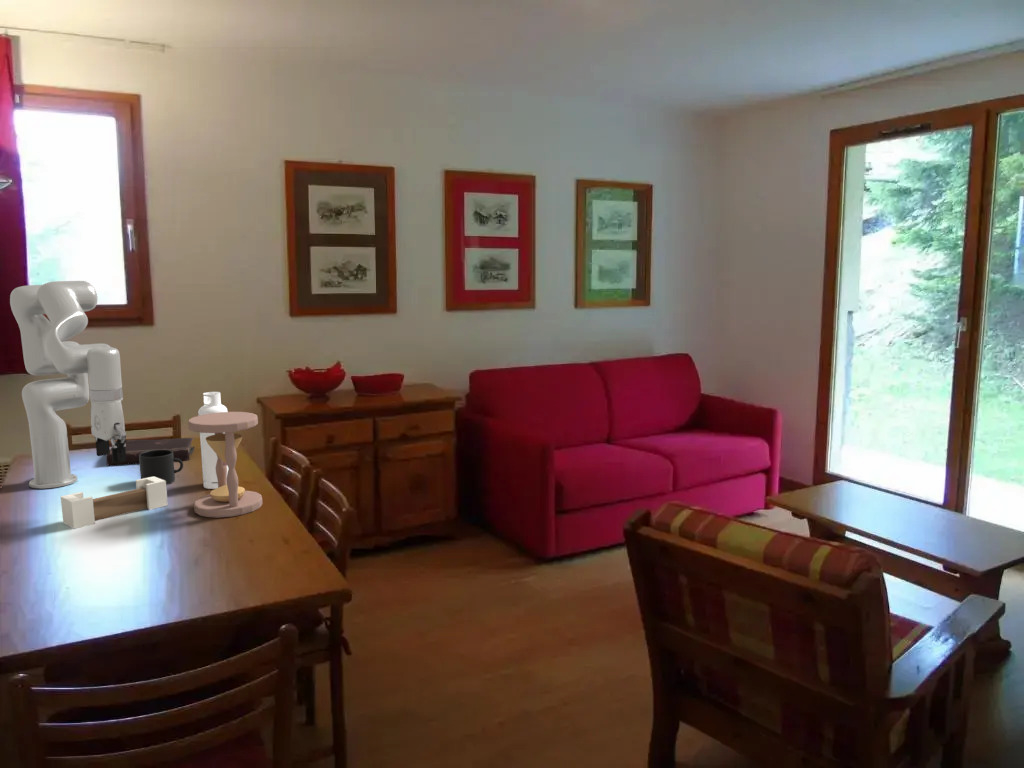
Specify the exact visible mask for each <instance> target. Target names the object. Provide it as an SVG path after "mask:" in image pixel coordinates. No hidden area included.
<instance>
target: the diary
mask: <svg viewBox="0 0 1024 768" xmlns="http://www.w3.org/2000/svg"><path fill="white" fill-rule="evenodd" d="M194 439H195V438H194V437H181V438H179V437H178V438H166V439H163V438H162V439H129V440H127V439H126V442H125V444H126V447H125V450H126V461H125V462H119V463H113V459H112V448H113V446H112V447H110V454H108V455H106V465H107V467H115V466H129V465H140V463H139V454H141V453H143V452H147V451H153V450H171V451H173V458H178V459H180V460H181V461H182V462H187V461H190V456H191V455H193V453H194V451H195V446H192V442H193V440H194Z"/></svg>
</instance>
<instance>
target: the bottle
mask: <svg viewBox="0 0 1024 768" xmlns="http://www.w3.org/2000/svg"><path fill="white" fill-rule="evenodd" d="M202 395H203V396H202V397H203V405H202V406H200V408H199V409H198V411H197V412H198V416H199V415H204V414H210V413H219V412H228V408H227V406H225V405H224V404H222V400H221V399H222V398H221V397H222V396H221V392H220V391H208V392H203V393H202ZM211 435H215V433H200V432H199V440H200V455H201V468H202V469H201V470H202V479H203V481H202V485H203V488H204V489H208V490H210V489H212V490H215V489H217V488H218V479H217V475H216V463H217V459H218V457H217V455H216V453H215V452H214V451H213V449H212V448H211V447H210V446H209V444H208V443H207V441H206V437H208V436H211ZM228 469H229V468H228V465H227V474H228ZM226 478H227V477H226ZM226 482H227V480H226Z"/></svg>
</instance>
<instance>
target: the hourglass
mask: <svg viewBox="0 0 1024 768" xmlns="http://www.w3.org/2000/svg"><path fill="white" fill-rule="evenodd" d="M258 423H259V417H258V415H257V414H255V413H253V412H247V411H227V412H219V413H210V414H204V415H199V414H198V415H195V416H193V417H191V418H189V419H188V423H187V424H188V425H187V426H188V430H190V431H192V432H194V433H199V434H200V433H215V435H211V436H208V437H206V441H207V443H208V444H209V446H210V447H211V448H212V449H213V451H214V452H215V453H216V455H217V457H218V459H217V463H216V475H217V479H218V482H217V483H218V488H217V489H212V490H211V491H210V492H209V493H210V494H206V495H204V496H201V497H199V498H198V499H196V500H195V501H194V503H193V505H194V506H193V507H194V513H195V514H197V515H198V516H201V517H206V518H217V519H218V518H233V517H237V516H243V515H246V514H250V513H253V512H254V511H256V510H258V509H259V510H260V508H261V507H262V506H263V496H262V494H261V493H259V492H257V491H253V490H246V489H245V488H244V487H243V486H239V477H238V474H237V471H236V463H237V459H238V456H237V454H238V453H237V449H238V447H239V445H240V444H241V442H242V439H243V434H241V433H235V432H238V431H243V430H248V429H251V428H254V427H256V426H258ZM227 465H228V468H229V469H228V474H227ZM226 477H227V478H226ZM226 480H227V482H226Z"/></svg>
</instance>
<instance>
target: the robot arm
mask: <svg viewBox="0 0 1024 768" xmlns="http://www.w3.org/2000/svg"><path fill="white" fill-rule="evenodd" d="M9 297H10V298H9V305H10V308H11V309H10V310H11V312H12V314H13V316H14V318H15V320H16V322H17V324H18V328H19V331H20V339H21V347H22V355H23V362H24V366H25V370H26V372H27V373H28V374H29V375H32V376H49V375H59V374H60V375H61V374H62V375H65V376H66V375H67V377H60V378H49V379H39V380H35V381H32V382H31V381H30V382H29V383H27V384H25V385H24V387H22V390H21V397H22V398H21V399H22V402H23V406H24V409H25V411H26V416H27V421H28V430H29V436H30V446H31V447H30V448H31V457H32V466H33V474H34V475H33V477H34V478H33V479H31V480H30V481H29V482H28V486H29V488H31V489H41V490H42V489H53V488H54V489H55V488H60V487H65V486H69V485H72V484H74V483H76V482H77V481H78V476H77V474H73V473H72V471H71V461H70V460H71V458H70V450H69V440H68V439H69V438H68V430H67V424H66V422H65V420H64V419H63V418H61V417H60V416H59V415H58V414H57V413H56V412H58V411H61V410H69V409H76V408H81V407H84V406H86V405H87V404H88V403H89V401H90V404H91V405H90V430H91V435H92V436H94V441H95V448H96V456H98V457H101V456H107V455H108V454H110V449H111V448H112V447H111V446H110V443H111V445H112V446H113V448H112V459H113V463H119V462H125V461H126V450H125V447H126V444H125V442H126V440H127V439H126V438H127V433H126V426H125V418H124V411H123V404H122V401H123V400H124V393H123V380H122V369H121V368H122V367H121V366H122V365H121V355H120V350H118V348H116V347H112V346H111V345H109V344H107V343H102V342H101V343H90V344H89V343H88V344H87V343H86V344H85V343H83V344H80V343H79V342H76V341H72V340H71V341H70V340H69V339H71V338H73V337H75V336H77V335H79V334H81V333H82V332H83V331H84V330H85V329H86V328H87V326H88V323H89V319H88V316H87V313H85V312H89V311H92V310H93V309H95V308H96V306H97V304H98V294H97V291H96V289H95V287H94V286H93V285H92V284H91V283H90V282H88V281H86V280H85V281H84V280H62V281H61V280H56V281H49V282H46V283H43V284H29V285H22V286H18V287H15V288H14V289H13V290H12V291H11V293H10V295H9ZM45 315H46V316H45Z"/></svg>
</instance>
